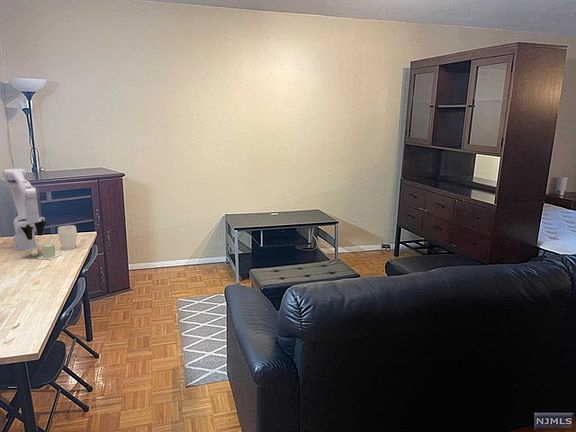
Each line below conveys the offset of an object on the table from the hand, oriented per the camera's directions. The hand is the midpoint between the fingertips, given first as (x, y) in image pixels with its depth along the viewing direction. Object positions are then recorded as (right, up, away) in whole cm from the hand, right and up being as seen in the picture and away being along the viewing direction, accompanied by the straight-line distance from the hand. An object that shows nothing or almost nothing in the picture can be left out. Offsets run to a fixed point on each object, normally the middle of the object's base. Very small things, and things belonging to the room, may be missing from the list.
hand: (35, 237), depth 217 cm
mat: (+4, -10, -1) cm, 11 cm away
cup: (+10, -7, +14) cm, 18 cm away
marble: (+1, -8, -1) cm, 8 cm away
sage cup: (+8, -10, -2) cm, 13 cm away
